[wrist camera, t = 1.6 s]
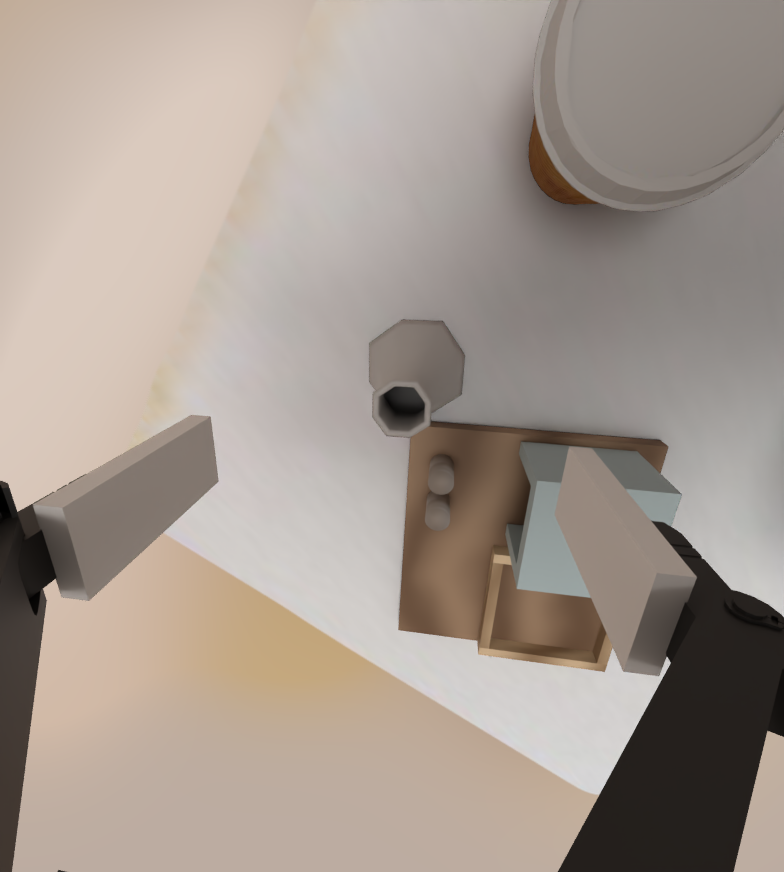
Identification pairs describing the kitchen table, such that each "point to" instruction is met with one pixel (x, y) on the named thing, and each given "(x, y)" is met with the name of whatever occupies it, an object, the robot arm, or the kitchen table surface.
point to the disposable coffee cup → (654, 98)
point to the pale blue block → (541, 534)
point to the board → (490, 547)
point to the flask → (413, 375)
